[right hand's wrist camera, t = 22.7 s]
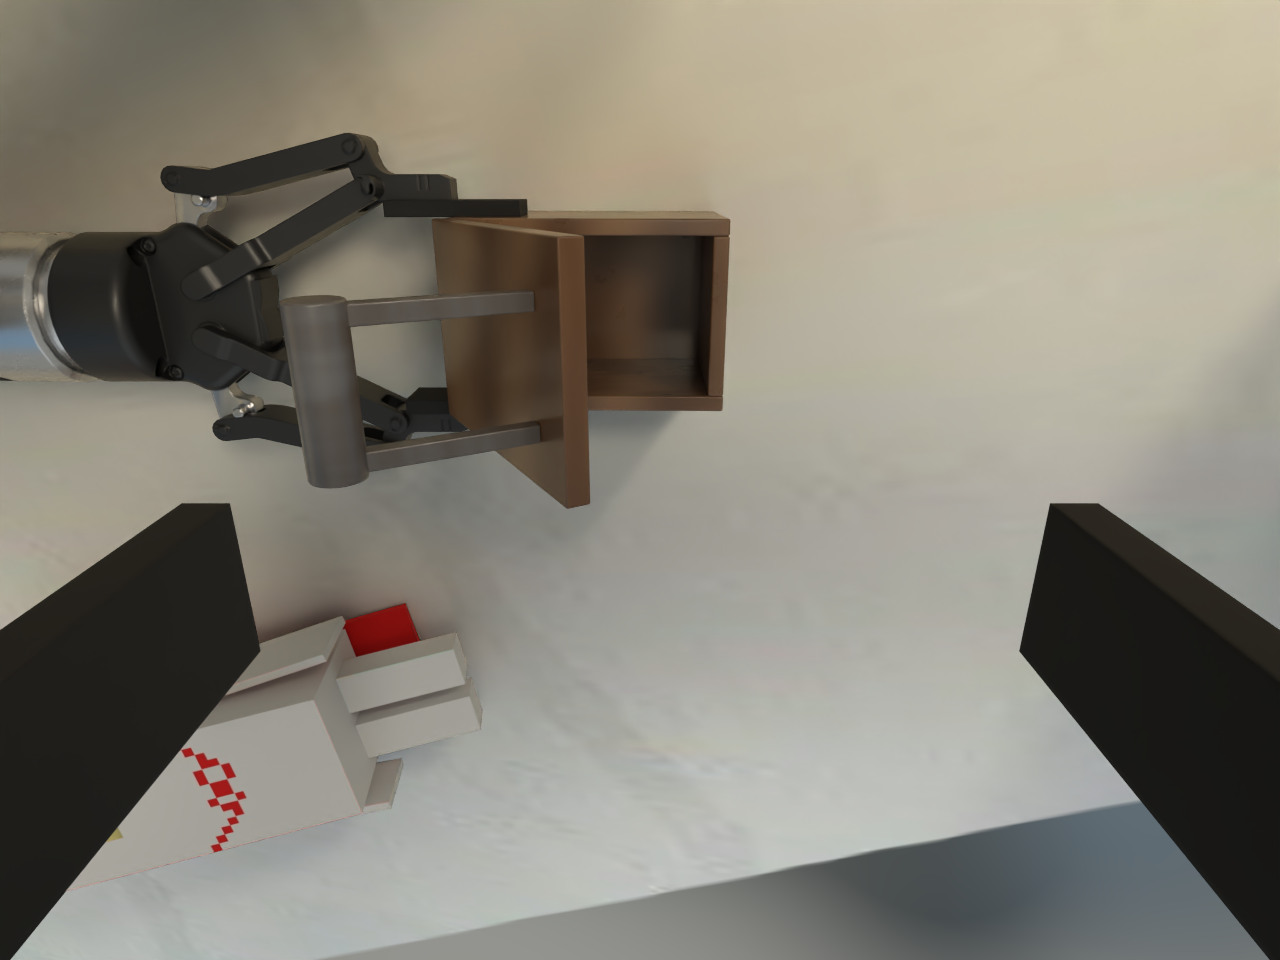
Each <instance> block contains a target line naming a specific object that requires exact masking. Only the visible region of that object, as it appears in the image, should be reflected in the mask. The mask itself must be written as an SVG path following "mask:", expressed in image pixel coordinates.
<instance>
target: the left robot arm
mask: <svg viewBox="0 0 1280 960" xmlns="http://www.w3.org/2000/svg"><path fill="white" fill-rule="evenodd" d="M345 168H349V169H350V171H351V173H352V175H353V177H354V180H353V181H351V182H349V183H348V184H346V185H344V186H343V187H341V188H339V189H338V190H336V191H334V192H333V193H331V194H329V195H327V196H326V197H324V198H322V199H321V200H319V201H317V202H316V203H314V204H312V205H311V206H309V207H307V208H305V209H304V210H302V211H300V212H299V213H297V214H295V215H294V216H292V217H290V218H289V219H287V220H285V221H283V222H282V223H280V224H278V225H277V226H275V227H273V228H272V229H270V230H268V231H267V232H265V233H263V234H261V235H260V236H258V237H256V238H254V239H251V240H249V241H247V242H245V243H243V244H241V245H237V244H236V243H234V242H233V241H231V240H230V239H228V238H227V237H225V236H224V235H222V234H221V233H219V232H218V231H216V230H215V229H213V228H212V227H210V226H209V225H207V218H208V216H209V215H210V214H211V213H213V212H218V211H221V210H223V209H224V208H225V206H226V203H227V197H226V196H235V195H246V194H251V193H255V192H259V191H263V190H266V189H270V188H274V187H278V186H281V185H285V184H289V183H293V182H296V181H300V180H304V179H308V178H311V177H315V176H319V175H323V174H327V173H330V172H334V171H338V170H342V169H345ZM160 178H161V181H162V184H163V185H164V187H165V188H166V189H168V190H169V191H171V192H174V197H175V208H176V218H177V223H176V224H174V225H172V226H170V227H169V228H167V229H166V230H164V231H162V232H85V233H80V234H78V235H76V234H73V233H71V232H0V380H1V381H76V382H90V381H95V380H100V379H101V380H104V381H185V382H191V383H194V384H196V385H199V386H201V387H203V388H205V389H207V390H211V392H212V395H213V398H214V401H215V404H216V407H217V411H218V414H219V417H220V419H219V420H217V421H216V422H215V423H214V424H213V427H212V428H213V433H214V434H215V436H216V437H217V438H218V439H220V440H223V441H231V440H240V439H249V438H262V439H267V440H271V441H276V442H280V443H285V444H289V445H294V446H299V447H302V443H301V437H300V431H299V425H298V419H297V412H296V408H293V407H289V406H283V405H273V404H269V405H263V404H264V401H263V399H262V398H260V397H257V396H254V395H249V394H246V393H244V392H242V391H241V390H240V389H239V387H238V385H237V383H238V382H239V381H241V380H242V379H243V378H244V377H245V376H247V375H248V374H249V373H250V372H252V373H254V374H256V375H258V376H261V377H263V378H265V379H268V380H271V381H279V382H283V383H285V384H287V385H289V386H292V382H291V376H290V370H289V364H288V358H287V352H286V346H285V340H284V337H283V336H284V334H283V328H282V322H281V316H280V310H279V307H278V297H279V286H278V280H277V275H272V273H271V272H270V270H271V269H273V268H275V267H277V266H278V265H280V264H282V263H283V262H285V261H287V260H288V259H290V258H291V257H292V256H293V255H295V254H296V253H298V252H300V251H302V250H303V249H305V248H307V247H308V246H310V245H312V244H314V243H315V242H317V241H319V240H320V239H322V238H324V237H326V236H327V235H329V234H331V233H333V232H334V231H336V230H338V229H339V228H341V227H343V226H345V225H346V224H348V223H350V222H351V221H353V220H355V219H357V218H358V217H360V216H362V215H364V214H365V213H367V212H369V211H370V210H372V209H374V208H376V207H377V206H379V205H381V204H382V203H383V208H384V217H455V216H466V217H520V216H524V215H527V214H528V212H527V199H458V195H457V182H456V179H455V178H453V177H450V176H448V175H442V174H393V173H391V172H390V171H388V170H387V169H386V168H385V167H384V165H383V163H382V161H381V159H380V156H379V154H378V145H377V144H376V142H375V141H374V140H373V139H372V138H371V137H368V136H364V135H358V134H353V133H343V134H340V135H336V136H332V137H329V138H325V139H321V140H318V141H314V142H310V143H306V144H303V145H299V146H295V147H292V148H288V149H284V150H280V151H277V152H273V153H269V154H266V155H262V156H258V157H255V158H251V159H247V160H243V161H240V162H236V163H232V164H229V165H225V166H221V167H217V168H206V167H194V166H167V167H165V168H163V170H162V172H161V177H160ZM357 382H358V389H359V397H360V404H361V412H362V419H363V420H365V421H367V422H369V423H371V424H374V425H376V426H374V425H369V424H365V423H363V427H364V434H365V442H366V446H372V445H379V444H385V443H392V442H398V441H405V440H411V436H412V433H413V432H442V431H443V432H450V431H451V432H462V431H464V430H467V429H468V428H467V427H465V426H464V425H463V424H462V423H460V422H459V421H458V420H457V419H455V418H454V417H453V416H452V415H450V413H449V404H448V393H447V388H418V389H417V390H416V391H415V392H414V393H413V394H412V395H411V396H409V397H408V398H407V399H406V398H404V397H402V396H400V395H397V394H395V393H393V392H391V391H389V390H387V389H385V388H383V387H380V386H378V385H376V384H374V383H372V382H370V381H368V380H366V379H364V378H361V377H359V376H357Z"/></svg>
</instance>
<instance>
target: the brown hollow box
mask: <svg viewBox="0 0 1280 960" xmlns="http://www.w3.org/2000/svg"><path fill="white" fill-rule="evenodd" d="M527 212H528V214H527V215H524V216H520V217H466V216H455V217H449V218H451V219H459V220H467V221H474V222H482V223H490V224H498V225H505V226H513V227H521V228H529V229H536V230H544V231H552V232H560V233H567V234H575V235H582V236H584V262H585V306H586V349H587V392H588V410H645V411H722V407H723V396H722V395H723V382H724V359H725V335H726V312H727V288H728V265H729V241H730V238H729V235H730V219H728V218H726V217H724V216H721V215H719V214H717V213H715V212H691V211H527Z"/></svg>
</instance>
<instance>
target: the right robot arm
mask: <svg viewBox="0 0 1280 960" xmlns="http://www.w3.org/2000/svg"><path fill="white" fill-rule="evenodd" d="M260 651H261V650H260V646H259V641H258V636H257V631H256V626H255V622H254V617H253V612H252V607H251V602H250V598H249V593H248V588H247V583H246V579H245V574H244V569H243V564H242V559H241V555H240V550H239V545H238V540H237V535H236V531H235V526H234V521H233V516H232V511H231V507H230V503H182V504H180V505H179V506H177V507H176V508H175V509H173V510H172V511H170V512H169V513H167V514H166V515H164V516H163V517H162V518H160V519H159V520H157V521H156V522H154V523H153V524H152V525H150V526H149V527H147V528H146V529H144V530H143V531H142V532H140V533H139V534H137V535H136V536H134V537H133V538H132V539H130V540H129V541H127V542H126V543H124V544H123V545H121V546H120V547H119V548H117V549H116V550H114V551H113V552H111V553H110V554H109V555H107V556H106V557H104V558H103V559H101V560H100V561H99V562H97V563H96V564H94V565H93V566H91V567H90V568H89V569H87V570H86V571H84V572H83V573H81V574H80V575H79V576H77V577H76V578H74V579H73V580H71V581H70V582H68V583H67V584H66V585H64V586H63V587H61V588H60V589H58V590H57V591H56V592H54V593H53V594H51V595H50V596H48V597H47V598H46V599H44V600H43V601H41V602H40V603H38V604H37V605H36V606H34V607H33V608H31V609H30V610H28V611H27V612H25V613H24V614H23V615H21V616H20V617H18V618H17V619H15V620H14V621H13V622H11V623H10V624H8V625H7V626H5V627H4V628H3V629H1V630H0V960H10V959H11V958H12V957H13V956H14V955H15V953H16V952H17V951H18V950H19V948H20V947H21V946H22V945H23V943H24V942H25V941H26V940H27V939H28V937H29V936H30V935H31V934H32V932H33V931H34V930H35V929H36V927H37V926H38V925H39V924H40V923H41V921H42V920H43V919H44V918H45V916H46V915H47V914H48V913H49V911H50V910H51V909H52V908H53V907H54V905H55V904H56V903H57V902H58V900H59V899H60V898H61V897H62V895H63V894H64V893H65V892H66V890H67V889H68V888H69V887H70V886H71V884H72V883H73V882H74V881H75V879H76V878H77V877H78V876H79V874H80V873H81V872H82V871H83V870H84V868H85V867H86V866H87V865H88V863H89V862H90V861H91V860H92V858H93V857H94V856H95V855H96V854H97V852H98V851H99V850H100V849H101V847H102V846H103V845H104V844H105V842H106V841H107V840H108V839H109V837H110V836H111V835H112V834H113V833H114V831H115V830H116V829H117V828H118V826H119V825H120V824H121V823H122V821H123V820H124V819H125V818H126V817H127V815H128V814H129V813H130V812H131V810H132V809H133V808H134V807H135V805H136V804H137V803H138V802H139V801H140V799H141V798H142V797H143V796H144V794H145V793H146V792H147V791H148V789H149V788H150V787H151V786H152V784H153V783H154V782H155V781H156V780H157V778H158V777H159V776H160V775H161V773H162V772H163V771H164V770H165V768H166V767H167V766H168V765H169V764H170V762H171V761H172V760H173V759H174V757H175V756H176V755H177V754H178V752H179V751H180V750H181V749H182V748H183V746H184V745H185V744H186V743H187V741H188V740H189V739H190V738H191V736H192V735H193V734H194V733H195V731H196V730H197V729H198V728H199V727H200V725H201V724H202V723H203V722H204V720H205V719H206V718H207V717H208V715H209V714H210V713H211V712H212V711H213V709H214V708H215V707H216V706H217V704H218V703H219V702H220V701H221V699H222V698H223V697H224V696H225V695H226V693H227V692H228V691H229V690H230V688H231V687H232V686H233V685H234V683H235V682H236V681H237V680H238V678H239V677H240V676H241V675H242V674H243V672H244V671H245V670H246V669H247V667H248V666H249V665H250V664H251V662H252V661H253V660H254V659H255V658H256V656H257V655H258V654H259V653H260ZM1019 651H1020V653H1021V654H1022V655H1023V656H1024V658H1025V659H1026V660H1027V661H1028V662H1029V664H1030V665H1031V666H1032V667H1033V669H1034V670H1035V671H1036V672H1037V674H1038V675H1039V676H1040V677H1041V678H1042V680H1043V681H1044V682H1045V683H1046V685H1047V686H1048V687H1049V688H1050V690H1051V691H1052V692H1053V693H1054V695H1055V696H1056V697H1057V698H1058V699H1059V701H1060V702H1061V703H1062V704H1063V706H1064V707H1065V708H1066V709H1067V711H1068V712H1069V713H1070V714H1071V715H1072V717H1073V718H1074V719H1075V720H1076V722H1077V723H1078V724H1079V725H1080V727H1081V728H1082V729H1083V730H1084V731H1085V733H1086V734H1087V735H1088V736H1089V738H1090V739H1091V740H1092V741H1093V743H1094V744H1095V745H1096V746H1097V748H1098V749H1099V750H1100V751H1101V752H1102V754H1103V755H1104V756H1105V757H1106V759H1107V760H1108V761H1109V762H1110V764H1111V765H1112V766H1113V767H1114V768H1115V770H1116V771H1117V772H1118V773H1119V775H1120V776H1121V777H1122V778H1123V780H1124V781H1125V782H1126V783H1127V784H1128V786H1129V787H1130V788H1131V789H1132V791H1133V792H1134V793H1135V794H1136V796H1137V797H1138V798H1139V799H1140V801H1141V802H1142V803H1143V804H1144V805H1145V807H1146V808H1147V809H1148V810H1149V812H1150V813H1151V814H1152V815H1153V817H1154V818H1155V819H1156V820H1157V821H1158V823H1159V824H1160V825H1161V826H1162V828H1163V829H1164V830H1165V831H1166V833H1167V834H1168V835H1169V836H1170V837H1171V839H1172V840H1173V841H1174V842H1175V844H1176V845H1177V846H1178V847H1179V849H1180V850H1181V851H1182V852H1183V853H1184V855H1185V856H1186V857H1187V858H1188V860H1189V861H1190V862H1191V863H1192V865H1193V866H1194V867H1195V868H1196V870H1197V871H1198V872H1199V873H1200V874H1201V876H1202V877H1203V878H1204V879H1205V881H1206V882H1207V883H1208V884H1209V886H1210V887H1211V888H1212V889H1213V890H1214V892H1215V893H1216V894H1217V895H1218V897H1219V898H1220V899H1221V900H1222V902H1223V903H1224V904H1225V905H1226V906H1227V908H1228V909H1229V910H1230V911H1231V913H1232V914H1233V915H1234V916H1235V918H1236V919H1237V920H1238V921H1239V923H1240V924H1241V925H1242V926H1243V927H1244V929H1245V930H1246V931H1247V932H1248V933H1249V935H1250V936H1251V937H1252V939H1253V940H1254V941H1255V942H1256V943H1257V945H1258V946H1259V947H1260V948H1261V950H1262V951H1263V952H1264V953H1265V955H1266V956H1267V957H1268V958H1269V959H1270V960H1280V630H1279V629H1277V628H1276V627H1275V626H1273V625H1272V624H1270V623H1269V622H1267V621H1266V620H1265V619H1263V618H1262V617H1260V616H1259V615H1257V614H1256V613H1255V612H1253V611H1252V610H1250V609H1249V608H1247V607H1246V606H1244V605H1243V604H1242V603H1240V602H1239V601H1237V600H1236V599H1234V598H1233V597H1232V596H1230V595H1229V594H1227V593H1226V592H1224V591H1223V590H1222V589H1220V588H1219V587H1217V586H1216V585H1214V584H1213V583H1212V582H1210V581H1209V580H1207V579H1206V578H1204V577H1203V576H1202V575H1200V574H1199V573H1197V572H1196V571H1194V570H1193V569H1191V568H1190V567H1189V566H1187V565H1186V564H1184V563H1183V562H1181V561H1180V560H1179V559H1177V558H1176V557H1174V556H1173V555H1171V554H1170V553H1169V552H1167V551H1166V550H1164V549H1163V548H1161V547H1160V546H1159V545H1157V544H1156V543H1154V542H1153V541H1151V540H1150V539H1148V538H1147V537H1146V536H1144V535H1143V534H1141V533H1140V532H1138V531H1137V530H1136V529H1134V528H1133V527H1131V526H1130V525H1128V524H1127V523H1126V522H1124V521H1123V520H1121V519H1120V518H1118V517H1117V516H1116V515H1114V514H1113V513H1111V512H1110V511H1108V510H1107V509H1105V508H1104V507H1103V506H1101V505H1100V504H1098V503H1050V507H1049V511H1048V516H1047V521H1046V526H1045V531H1044V535H1043V540H1042V545H1041V550H1040V555H1039V559H1038V564H1037V569H1036V574H1035V579H1034V583H1033V588H1032V593H1031V598H1030V603H1029V607H1028V612H1027V617H1026V622H1025V627H1024V631H1023V636H1022V641H1021V646H1020V650H1019Z"/></svg>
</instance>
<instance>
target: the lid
mask: <svg viewBox="0 0 1280 960" xmlns="http://www.w3.org/2000/svg"><path fill="white" fill-rule="evenodd" d="M432 228H433V239H434V250H435V261H436V272H437V283H438V294H439V295H427V296H412V297H397V298H383V299H368V300H353V301H347V300H346V299H345V298H343V297H340V296H329V295H317V296H301V297H292V298H287V299H283V300H281V301H279V310H280V316H281V322H282V328H283V334H284V340H285V346H286V352H287V358H288V364H289V370H290V376H291V382H292V388H293V394H294V400H295V406H296V412H297V419H298V425H299V431H300V437H301V443H302V449H303V455H304V461H305V467H306V473H307V479H308V482H309V483H310V484H311V485H312V486H315V487H319V488H341V487H347V486H351V485H355V484H358V483H360V482H362V481H364V480H366V479H367V478H368V477H369V474H370V472H372V471H377V470H383V469H389V468H395V467H401V466H407V465H413V464H419V463H425V462H431V461H436V460H442V459H448V458H454V457H460V456H466V455H472V454H478V453H484V452H490V451H496V452H497V453H499V454H500V455H501V456H502V457H504V458H505V459H506V460H507V461H509V462H510V463H511V464H512V465H513V466H515V467H516V468H517V469H518V470H520V471H521V472H522V473H523V474H525V475H526V476H527V477H528V478H530V479H531V480H532V481H533V482H534V483H536V484H537V485H538V486H539V487H541V488H542V489H543V490H544V491H546V492H547V493H548V494H549V495H551V496H552V497H553V498H554V499H555V500H557V501H558V502H559V503H560V504H562V505H563V506H564V507H565V508H567V509H569V508H574V507H578V506H583V505H587V504H590V479H589V436H588V392H587V349H586V306H585V262H584V236H582V235H575V234H567V233H560V232H552V231H544V230H536V229H529V228H521V227H513V226H505V225H498V224H490V223H482V222H474V221H467V220H459V219H451V218H446V219H432ZM440 319H441V327H442V338H443V349H444V360H445V371H446V382H447V393H448V404H449V413H450V415H452V416H453V417H454V418H455V419H457V420H458V421H459V422H460V423H462V424H463V425H464V426H465V427H467V428H468V429H469V430H470V431H463V432H457V433H450V434H444V435H437V436H431V437H424V438H418V439H411V440H405V441H398V442H392V443H385V444H379V445H372V446H366V442H365V434H364V427H363V419H362V412H361V404H360V397H359V389H358V382H357V374H356V367H355V359H354V352H353V344H352V337H351V329H350V327H355V326H367V325H379V324H391V323H403V322H416V321H428V320H440Z"/></svg>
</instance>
